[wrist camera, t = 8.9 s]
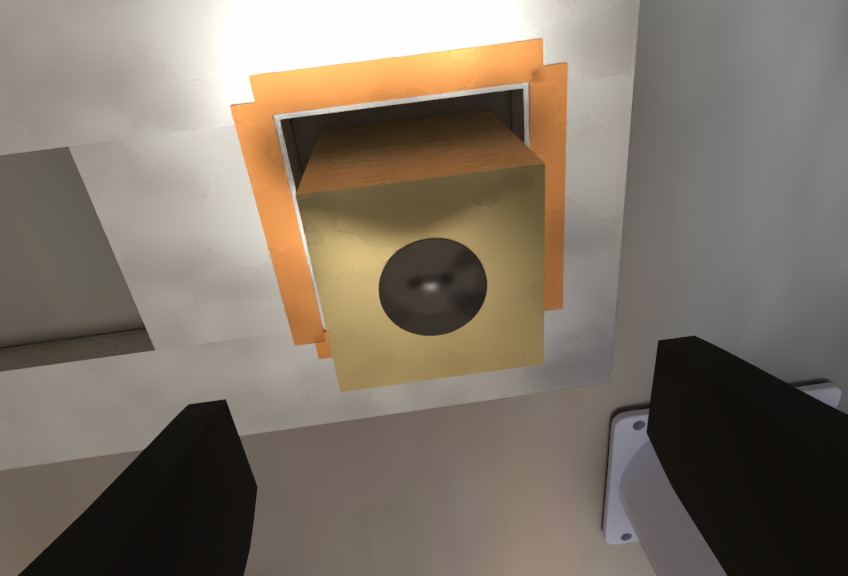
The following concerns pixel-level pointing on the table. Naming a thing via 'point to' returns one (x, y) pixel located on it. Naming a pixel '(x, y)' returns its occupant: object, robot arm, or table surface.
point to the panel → (288, 194)
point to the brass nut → (426, 248)
